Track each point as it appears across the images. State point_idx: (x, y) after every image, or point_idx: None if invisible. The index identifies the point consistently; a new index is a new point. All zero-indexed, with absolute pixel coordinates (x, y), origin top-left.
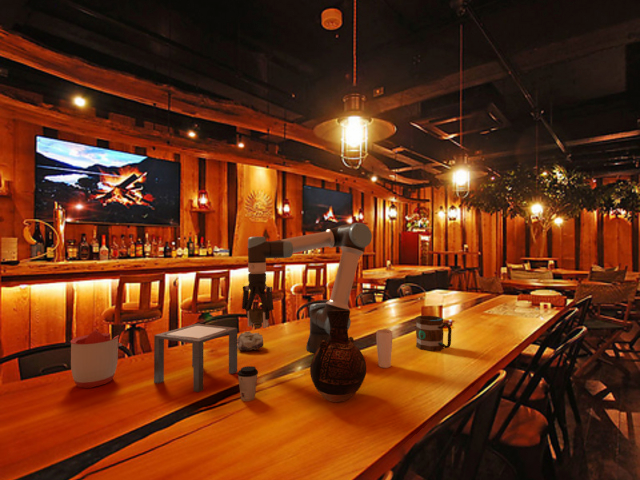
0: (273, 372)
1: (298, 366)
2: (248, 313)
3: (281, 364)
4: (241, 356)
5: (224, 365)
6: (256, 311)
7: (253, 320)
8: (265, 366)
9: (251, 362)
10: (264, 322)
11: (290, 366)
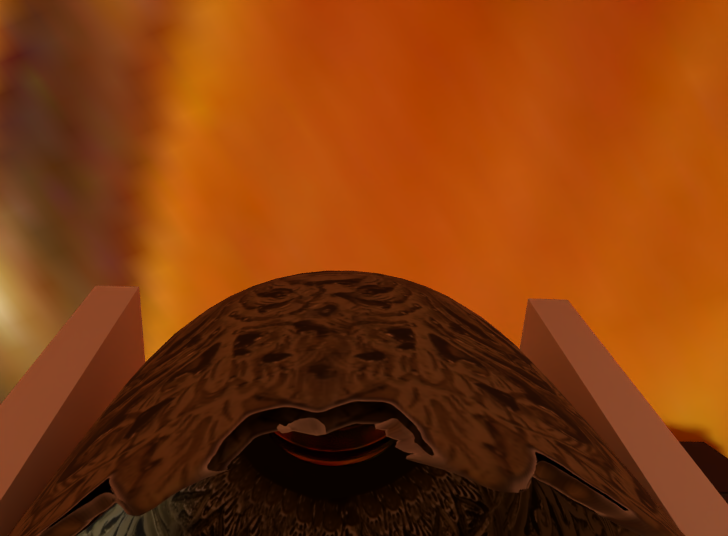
0: (127, 98)
1: (15, 316)
2: (694, 516)
3: (186, 309)
4: (645, 363)
5: (693, 98)
6: (141, 468)
7: (352, 274)
8: (294, 214)
9: (477, 261)
10: (49, 350)
11: (80, 292)
